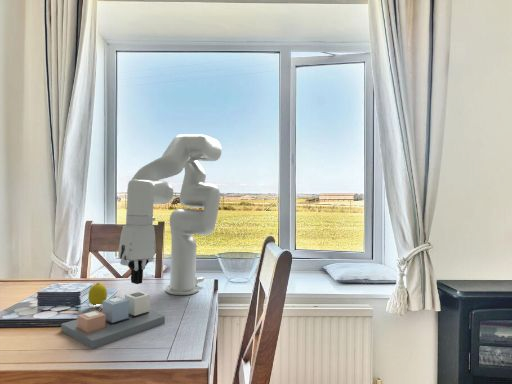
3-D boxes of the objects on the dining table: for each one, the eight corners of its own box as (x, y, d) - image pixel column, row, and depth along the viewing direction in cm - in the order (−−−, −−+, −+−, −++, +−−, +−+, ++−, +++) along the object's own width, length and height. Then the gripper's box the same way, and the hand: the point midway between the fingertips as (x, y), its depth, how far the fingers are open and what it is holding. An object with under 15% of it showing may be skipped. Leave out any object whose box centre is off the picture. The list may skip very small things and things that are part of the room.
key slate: (118, 313, 103) (118, 295, 103) (128, 317, 100) (128, 299, 100) (102, 318, 99) (102, 299, 99) (112, 322, 96) (112, 303, 96)
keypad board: (132, 309, 113) (132, 303, 113) (164, 322, 103) (164, 316, 103) (61, 331, 95) (61, 323, 95) (92, 348, 86) (92, 340, 86)
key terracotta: (95, 328, 97) (95, 309, 97) (105, 333, 94) (105, 313, 94) (77, 333, 93) (77, 314, 93) (86, 339, 90) (87, 319, 90)
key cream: (138, 307, 108) (139, 290, 108) (148, 311, 105) (149, 294, 105) (124, 311, 104) (124, 294, 104) (134, 315, 101) (135, 297, 101)
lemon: (99, 311, 111) (100, 286, 111) (84, 309, 112) (85, 284, 112) (110, 305, 116) (111, 281, 116) (95, 303, 117) (96, 280, 117)
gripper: (152, 219, 113) (149, 276, 112) (109, 221, 101) (106, 285, 100) (167, 221, 108) (164, 280, 108) (124, 223, 96) (121, 290, 96)
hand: (136, 282), depth 104 cm, fingers closed
